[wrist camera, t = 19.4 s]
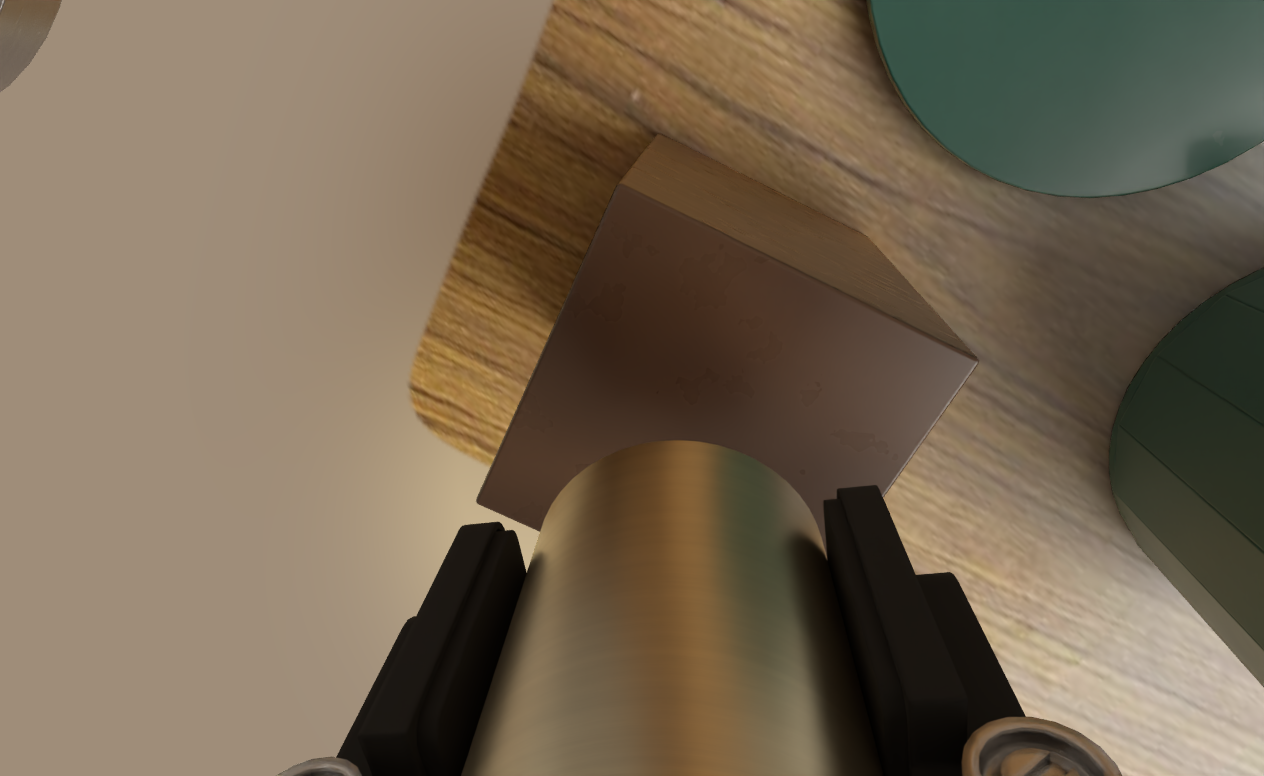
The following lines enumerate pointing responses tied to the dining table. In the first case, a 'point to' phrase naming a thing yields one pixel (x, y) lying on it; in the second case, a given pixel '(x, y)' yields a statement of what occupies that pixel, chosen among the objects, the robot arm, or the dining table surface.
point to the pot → (1202, 463)
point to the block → (729, 343)
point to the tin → (676, 631)
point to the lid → (1080, 86)
